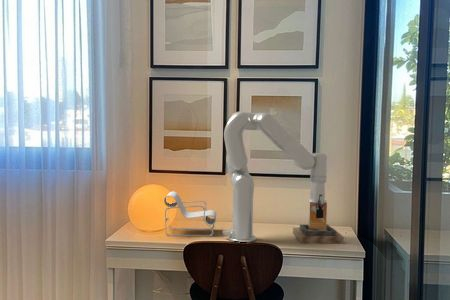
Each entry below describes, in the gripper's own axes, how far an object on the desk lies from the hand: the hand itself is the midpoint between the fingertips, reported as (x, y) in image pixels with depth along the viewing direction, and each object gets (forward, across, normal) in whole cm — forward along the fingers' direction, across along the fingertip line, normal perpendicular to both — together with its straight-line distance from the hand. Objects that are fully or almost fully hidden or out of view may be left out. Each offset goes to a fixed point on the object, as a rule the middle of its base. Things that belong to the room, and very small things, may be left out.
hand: (317, 215), depth 210 cm
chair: (+11, -11, -61) cm, 63 cm away
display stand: (+11, 0, 0) cm, 11 cm away
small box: (+6, 0, 0) cm, 6 cm away
